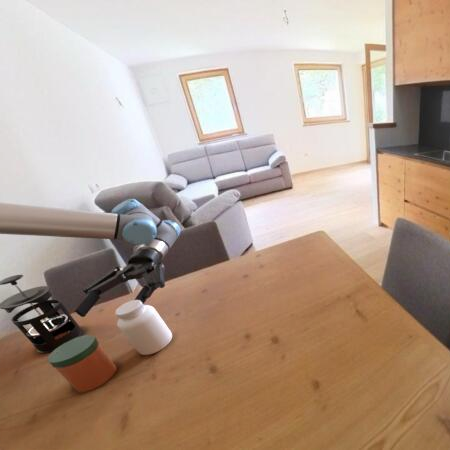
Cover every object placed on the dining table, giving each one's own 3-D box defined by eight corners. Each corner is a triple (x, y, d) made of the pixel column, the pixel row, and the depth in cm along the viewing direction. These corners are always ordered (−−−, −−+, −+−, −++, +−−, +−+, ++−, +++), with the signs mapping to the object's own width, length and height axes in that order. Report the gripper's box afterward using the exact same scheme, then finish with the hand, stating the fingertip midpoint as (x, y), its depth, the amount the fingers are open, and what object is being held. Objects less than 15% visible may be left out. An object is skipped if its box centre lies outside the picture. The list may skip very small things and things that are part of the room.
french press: (81, 342, 82) (31, 279, 72) (33, 361, 76) (-29, 296, 66) (86, 320, 90) (42, 261, 80) (43, 336, 85) (-10, 275, 74)
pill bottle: (144, 361, 75) (112, 323, 67) (135, 346, 79) (104, 309, 72) (177, 340, 80) (151, 303, 73) (168, 327, 85) (142, 291, 77)
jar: (66, 394, 67) (39, 365, 63) (93, 366, 74) (70, 338, 69) (100, 389, 68) (76, 360, 63) (124, 362, 75) (103, 334, 70)
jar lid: (41, 370, 63) (36, 364, 62) (73, 342, 70) (69, 337, 69) (79, 365, 64) (75, 359, 63) (107, 337, 71) (103, 332, 70)
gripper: (194, 259, 96) (165, 312, 80) (113, 267, 93) (65, 324, 77) (184, 243, 91) (150, 296, 75) (98, 251, 88) (44, 308, 72)
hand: (107, 310), depth 76 cm, fingers open, 13 cm apart
